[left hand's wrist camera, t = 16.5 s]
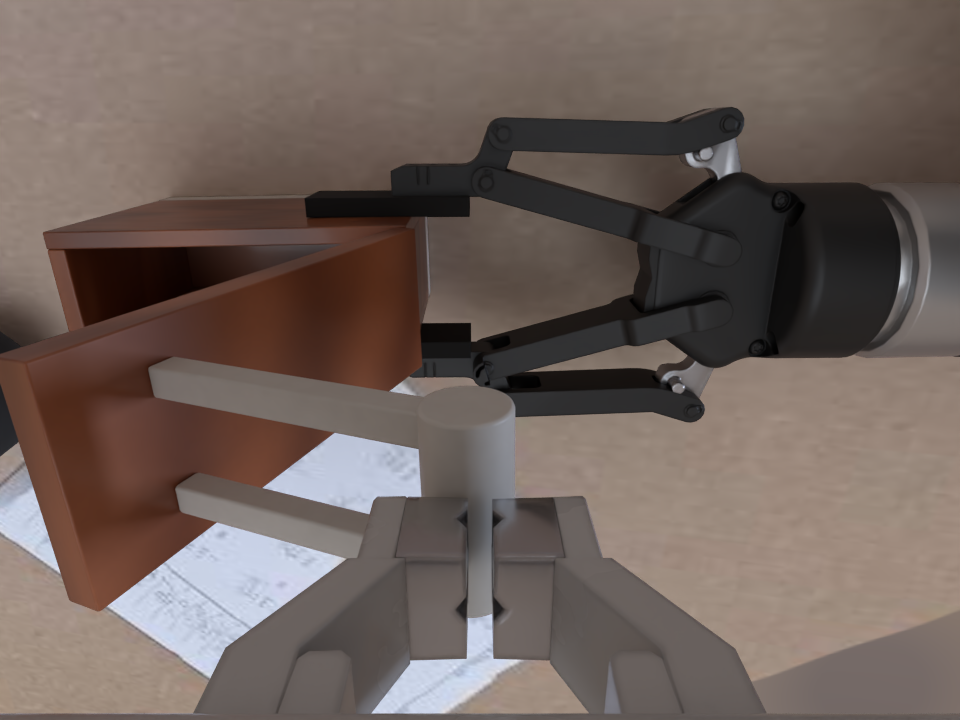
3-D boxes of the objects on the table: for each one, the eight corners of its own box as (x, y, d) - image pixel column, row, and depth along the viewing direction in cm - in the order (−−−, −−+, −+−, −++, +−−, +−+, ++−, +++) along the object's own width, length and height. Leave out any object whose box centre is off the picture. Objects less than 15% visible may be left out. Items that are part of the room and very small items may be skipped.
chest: (188, 296, 35) (77, 367, 25) (170, 197, 33) (41, 231, 23) (430, 291, 35) (414, 360, 25) (425, 192, 33) (406, 225, 23)
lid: (68, 601, 13) (456, 748, 10) (-11, 356, 11) (442, 441, 8) (402, 363, 25) (623, 394, 22) (393, 227, 23) (634, 240, 20)
